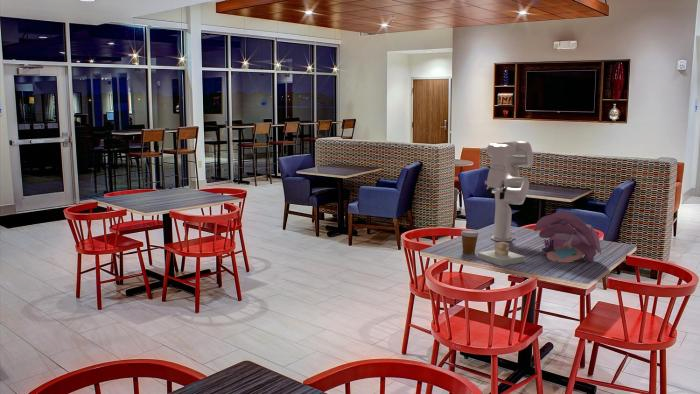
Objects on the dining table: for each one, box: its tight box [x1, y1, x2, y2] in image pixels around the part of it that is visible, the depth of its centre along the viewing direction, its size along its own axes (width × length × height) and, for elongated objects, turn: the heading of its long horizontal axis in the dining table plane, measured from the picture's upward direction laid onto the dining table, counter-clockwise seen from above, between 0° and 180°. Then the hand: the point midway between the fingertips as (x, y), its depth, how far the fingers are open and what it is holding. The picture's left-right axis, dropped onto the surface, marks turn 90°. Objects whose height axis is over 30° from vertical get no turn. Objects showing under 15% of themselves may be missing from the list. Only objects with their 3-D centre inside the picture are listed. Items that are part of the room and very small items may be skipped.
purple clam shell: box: [533, 210, 602, 263], centre depth 332 cm, size 35×24×28 cm
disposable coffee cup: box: [460, 229, 479, 255], centre depth 339 cm, size 10×10×12 cm
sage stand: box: [477, 249, 526, 267], centre depth 327 cm, size 17×17×3 cm
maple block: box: [494, 241, 510, 256], centre depth 326 cm, size 5×5×6 cm
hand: (495, 197), depth 350 cm, fingers open, 9 cm apart
